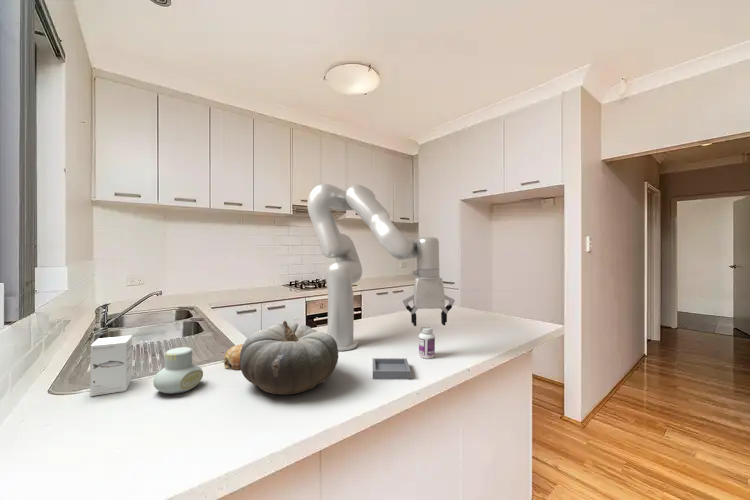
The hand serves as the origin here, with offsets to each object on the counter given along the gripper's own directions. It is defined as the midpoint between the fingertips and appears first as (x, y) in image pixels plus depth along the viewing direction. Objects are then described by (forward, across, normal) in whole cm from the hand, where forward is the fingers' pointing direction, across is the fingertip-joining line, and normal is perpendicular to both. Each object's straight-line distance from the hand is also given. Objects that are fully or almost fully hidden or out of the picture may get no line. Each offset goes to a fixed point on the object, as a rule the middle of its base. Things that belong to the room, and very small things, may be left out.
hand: (429, 324), depth 112 cm
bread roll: (+9, -60, -8) cm, 61 cm away
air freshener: (+9, -69, -26) cm, 74 cm away
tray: (+10, -14, -14) cm, 22 cm away
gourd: (+10, -41, -22) cm, 47 cm away
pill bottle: (+11, -1, 0) cm, 11 cm away
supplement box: (+9, -86, -26) cm, 90 cm away
